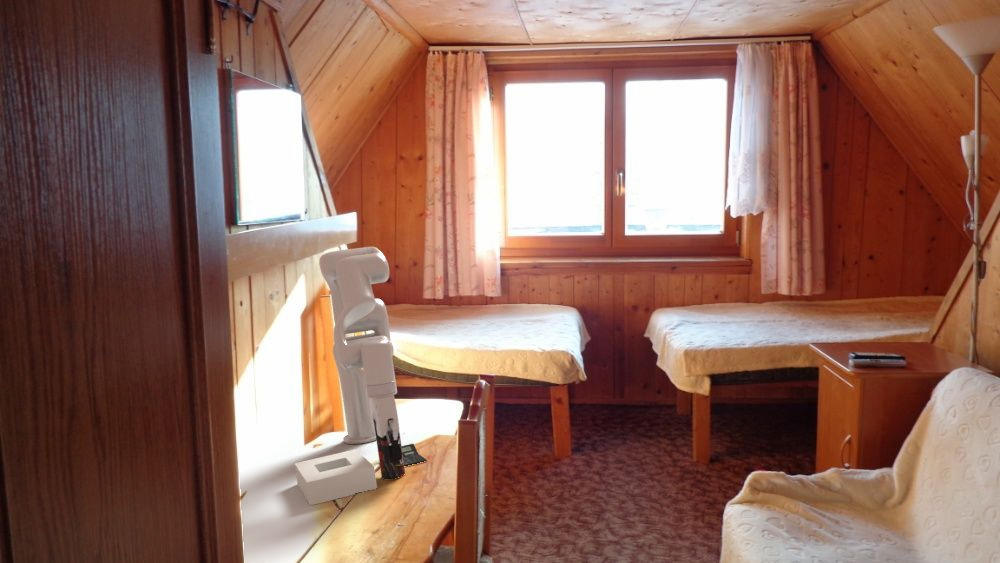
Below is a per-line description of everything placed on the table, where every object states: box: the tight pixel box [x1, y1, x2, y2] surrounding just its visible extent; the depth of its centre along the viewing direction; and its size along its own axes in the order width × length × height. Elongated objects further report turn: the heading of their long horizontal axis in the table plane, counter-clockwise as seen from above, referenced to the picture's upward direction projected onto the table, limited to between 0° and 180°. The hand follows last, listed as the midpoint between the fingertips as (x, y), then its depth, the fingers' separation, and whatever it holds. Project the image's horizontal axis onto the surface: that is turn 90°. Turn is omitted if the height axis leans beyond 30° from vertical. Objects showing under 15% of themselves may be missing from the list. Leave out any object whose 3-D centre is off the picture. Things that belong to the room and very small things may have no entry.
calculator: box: [401, 443, 428, 466], centre depth 208 cm, size 9×12×3 cm
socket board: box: [293, 448, 378, 506], centre depth 193 cm, size 20×16×6 cm
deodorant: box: [374, 420, 406, 480], centre depth 196 cm, size 6×6×15 cm
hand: (390, 456), depth 196 cm, fingers open, 9 cm apart
